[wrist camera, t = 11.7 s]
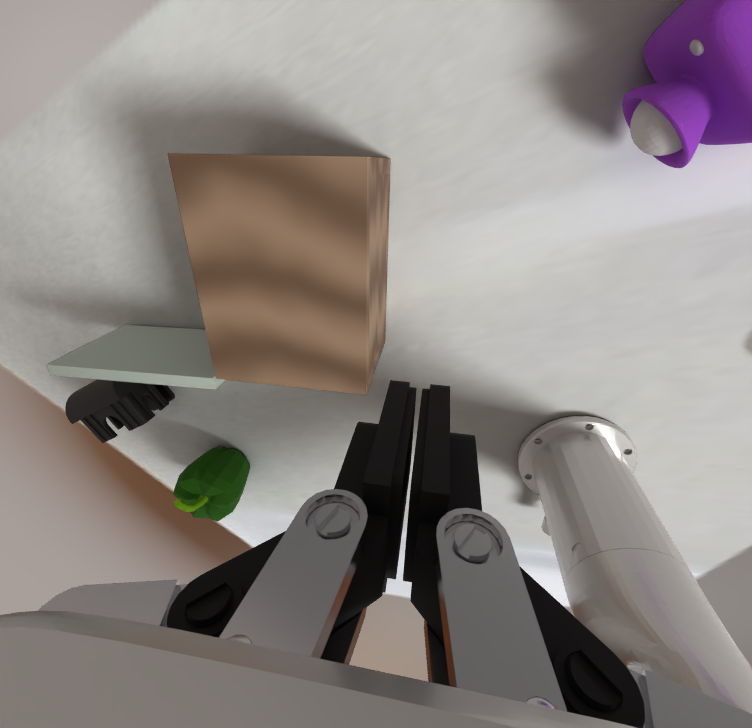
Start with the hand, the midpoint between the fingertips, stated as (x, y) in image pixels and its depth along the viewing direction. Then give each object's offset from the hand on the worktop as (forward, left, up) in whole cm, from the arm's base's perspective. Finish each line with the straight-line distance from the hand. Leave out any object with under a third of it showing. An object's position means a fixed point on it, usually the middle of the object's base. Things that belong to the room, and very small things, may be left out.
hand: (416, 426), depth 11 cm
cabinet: (-2, +12, -29) cm, 32 cm away
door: (-12, +28, -29) cm, 42 cm away
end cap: (-21, +39, -29) cm, 53 cm away
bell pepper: (-32, +27, -29) cm, 51 cm away
